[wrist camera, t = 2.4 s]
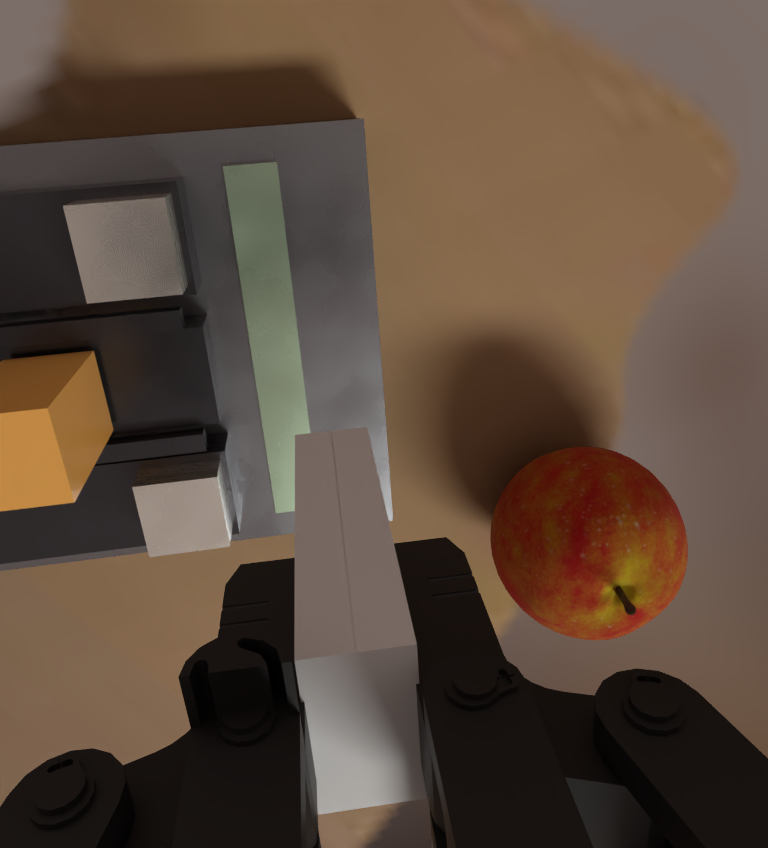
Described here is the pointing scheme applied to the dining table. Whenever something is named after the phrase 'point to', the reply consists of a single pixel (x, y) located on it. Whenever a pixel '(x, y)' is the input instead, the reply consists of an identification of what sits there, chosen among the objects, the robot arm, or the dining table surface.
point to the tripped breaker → (50, 428)
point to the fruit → (589, 543)
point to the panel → (317, 277)
